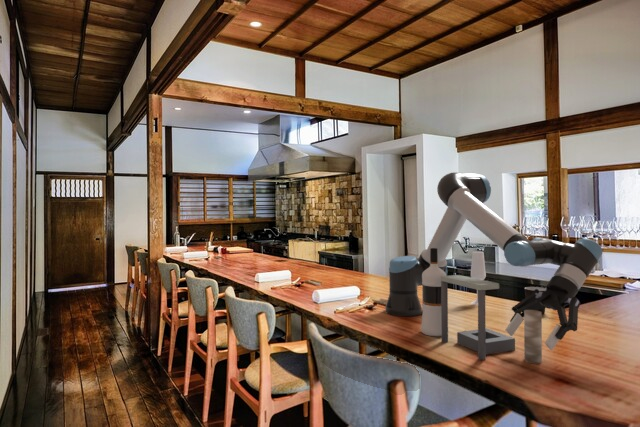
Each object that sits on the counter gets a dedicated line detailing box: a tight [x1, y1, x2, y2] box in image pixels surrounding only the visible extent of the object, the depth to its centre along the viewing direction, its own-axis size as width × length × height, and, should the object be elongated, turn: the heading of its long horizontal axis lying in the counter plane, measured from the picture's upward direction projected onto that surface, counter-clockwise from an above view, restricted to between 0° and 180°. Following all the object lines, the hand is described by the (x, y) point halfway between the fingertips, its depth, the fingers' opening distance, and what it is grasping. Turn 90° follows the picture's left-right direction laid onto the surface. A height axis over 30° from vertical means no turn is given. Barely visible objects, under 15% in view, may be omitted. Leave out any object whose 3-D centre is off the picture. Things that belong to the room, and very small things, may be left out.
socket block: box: [456, 327, 516, 355], centre depth 130 cm, size 12×12×4 cm
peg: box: [523, 310, 543, 364], centre depth 117 cm, size 4×4×14 cm
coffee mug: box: [524, 286, 547, 315], centre depth 171 cm, size 12×9×10 cm
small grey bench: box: [441, 274, 500, 361], centre depth 128 cm, size 7×19×22 cm, turn 20°
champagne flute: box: [470, 251, 487, 306], centre depth 191 cm, size 7×7×24 cm
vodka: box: [420, 248, 446, 338], centre depth 144 cm, size 9×9×30 cm
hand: (527, 339), depth 116 cm, fingers open, 13 cm apart
